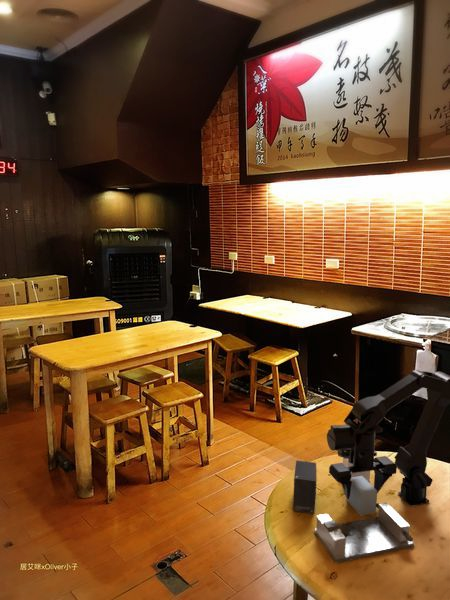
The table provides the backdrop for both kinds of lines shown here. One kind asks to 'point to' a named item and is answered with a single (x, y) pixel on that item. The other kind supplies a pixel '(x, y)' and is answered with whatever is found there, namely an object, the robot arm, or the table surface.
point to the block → (362, 496)
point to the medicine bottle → (364, 474)
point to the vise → (356, 538)
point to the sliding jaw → (394, 522)
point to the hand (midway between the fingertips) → (361, 495)
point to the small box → (304, 487)
